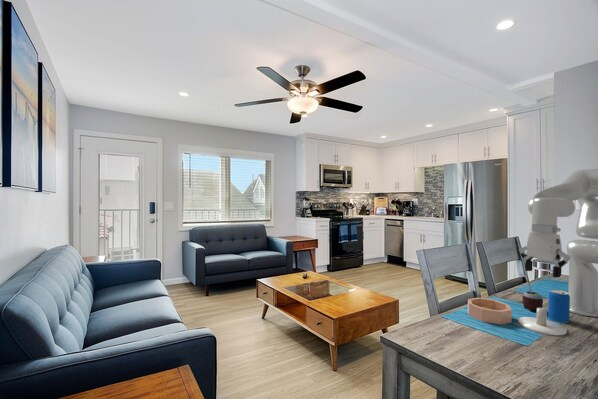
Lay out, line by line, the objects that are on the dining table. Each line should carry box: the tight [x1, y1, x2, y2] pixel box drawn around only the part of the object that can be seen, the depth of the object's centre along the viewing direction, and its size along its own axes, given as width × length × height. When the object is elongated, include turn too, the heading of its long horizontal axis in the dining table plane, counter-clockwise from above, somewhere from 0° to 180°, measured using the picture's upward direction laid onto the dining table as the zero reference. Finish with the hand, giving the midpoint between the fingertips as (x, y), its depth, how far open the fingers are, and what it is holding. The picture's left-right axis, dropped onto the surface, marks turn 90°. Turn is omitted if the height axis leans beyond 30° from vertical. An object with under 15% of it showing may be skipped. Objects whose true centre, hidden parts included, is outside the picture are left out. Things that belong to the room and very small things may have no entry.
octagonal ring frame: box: [467, 297, 513, 325], centre depth 124 cm, size 15×15×6 cm
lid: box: [517, 307, 568, 336], centre depth 114 cm, size 14×14×7 cm
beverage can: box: [547, 289, 570, 324], centre depth 121 cm, size 6×6×12 cm
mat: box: [513, 322, 571, 337], centre depth 115 cm, size 15×11×1 cm
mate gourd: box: [521, 274, 544, 313], centre depth 132 cm, size 8×8×15 cm
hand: (542, 273), depth 115 cm, fingers open, 9 cm apart
